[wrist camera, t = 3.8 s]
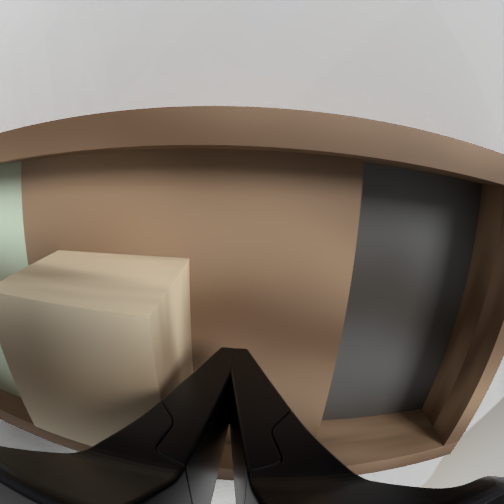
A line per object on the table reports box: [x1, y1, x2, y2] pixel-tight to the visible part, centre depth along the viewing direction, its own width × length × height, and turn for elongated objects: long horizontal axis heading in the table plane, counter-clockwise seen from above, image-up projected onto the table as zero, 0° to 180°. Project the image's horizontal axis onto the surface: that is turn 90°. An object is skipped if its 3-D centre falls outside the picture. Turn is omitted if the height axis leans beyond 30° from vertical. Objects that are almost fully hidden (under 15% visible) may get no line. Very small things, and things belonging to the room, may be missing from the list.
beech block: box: [0, 250, 193, 446], centre depth 8 cm, size 5×5×4 cm
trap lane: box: [0, 106, 504, 480], centre depth 11 cm, size 14×35×4 cm, turn 87°
